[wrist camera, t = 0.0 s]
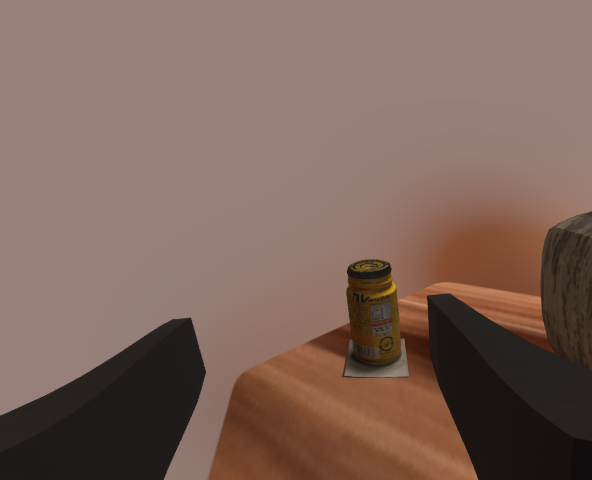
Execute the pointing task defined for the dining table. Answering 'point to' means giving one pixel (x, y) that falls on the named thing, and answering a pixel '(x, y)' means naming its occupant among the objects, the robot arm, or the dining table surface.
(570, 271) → the tabletop clock
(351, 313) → the condiment
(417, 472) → the dining table surface
